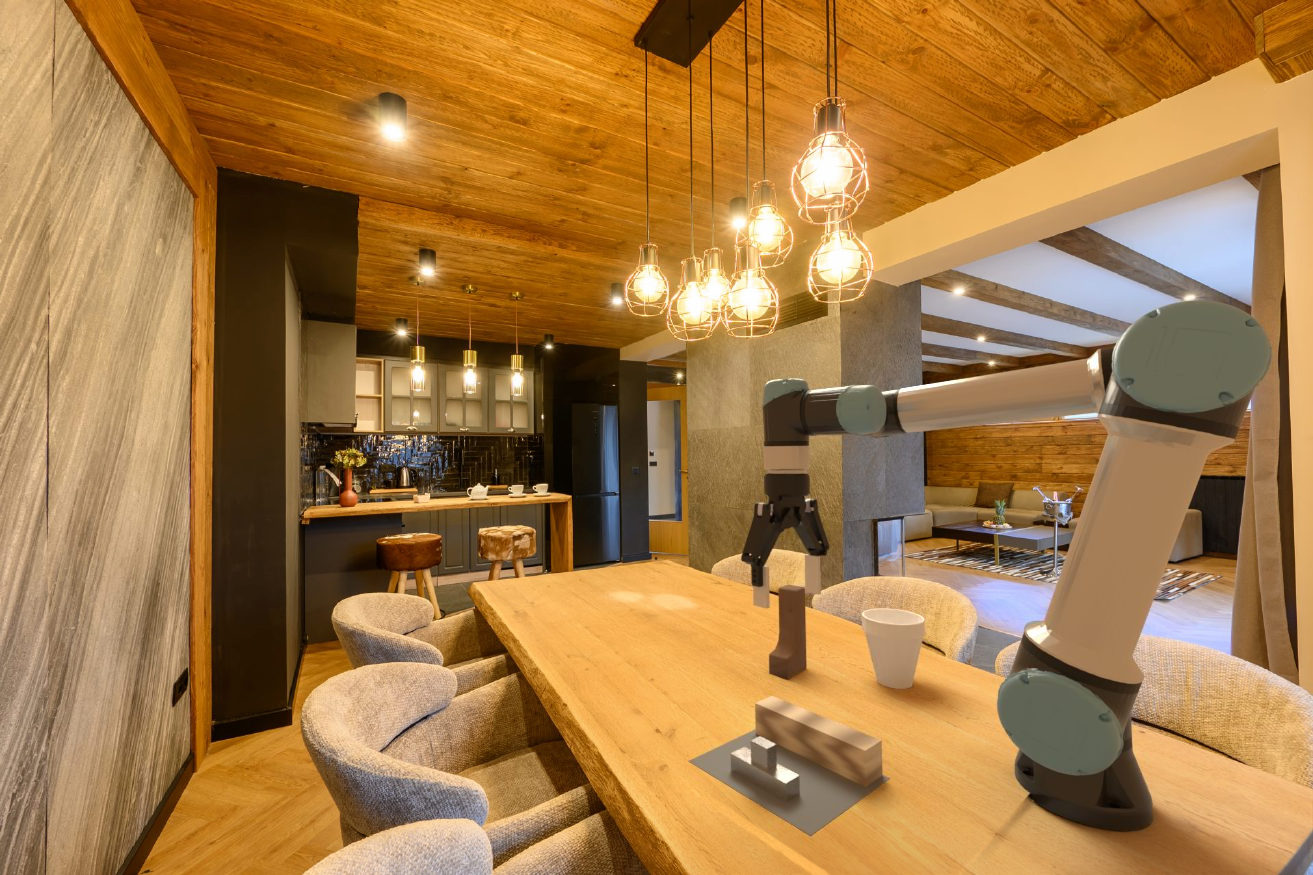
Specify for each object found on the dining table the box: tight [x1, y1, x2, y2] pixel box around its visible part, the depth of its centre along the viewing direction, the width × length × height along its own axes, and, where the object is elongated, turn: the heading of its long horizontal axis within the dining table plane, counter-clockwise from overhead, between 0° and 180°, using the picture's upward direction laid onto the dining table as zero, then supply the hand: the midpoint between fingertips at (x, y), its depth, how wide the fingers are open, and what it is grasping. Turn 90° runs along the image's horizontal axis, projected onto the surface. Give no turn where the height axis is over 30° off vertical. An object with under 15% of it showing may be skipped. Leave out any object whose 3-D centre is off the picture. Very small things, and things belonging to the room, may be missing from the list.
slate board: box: [688, 728, 891, 837], centre depth 82 cm, size 22×19×1 cm
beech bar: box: [754, 695, 884, 787], centre depth 87 cm, size 20×4×5 cm, turn 39°
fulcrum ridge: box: [731, 736, 800, 802], centre depth 79 cm, size 10×3×6 cm, turn 39°
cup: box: [861, 607, 927, 690], centre depth 116 cm, size 12×12×14 cm
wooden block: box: [768, 584, 808, 680], centre depth 123 cm, size 9×4×18 cm, turn 138°
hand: (788, 599), depth 93 cm, fingers open, 13 cm apart
